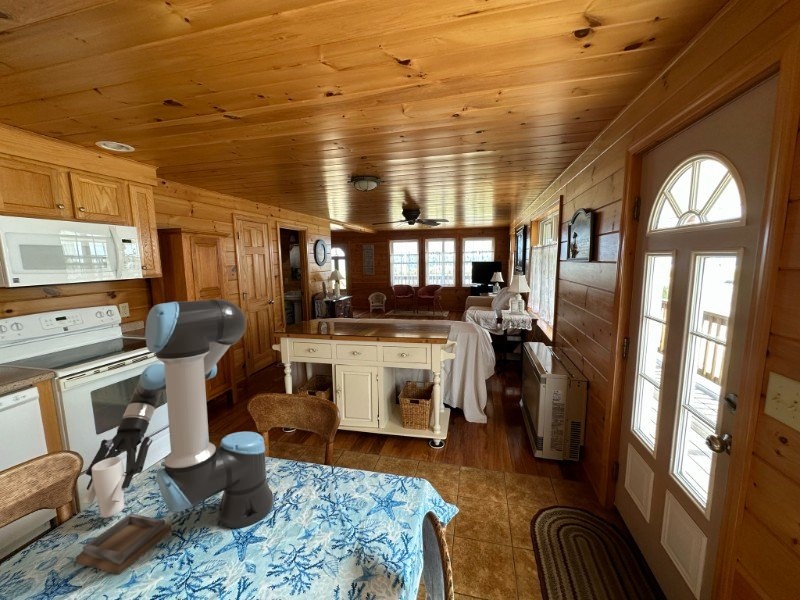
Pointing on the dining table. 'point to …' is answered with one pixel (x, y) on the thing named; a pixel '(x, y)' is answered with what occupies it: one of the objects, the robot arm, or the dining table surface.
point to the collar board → (123, 543)
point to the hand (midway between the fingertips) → (101, 502)
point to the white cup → (108, 485)
